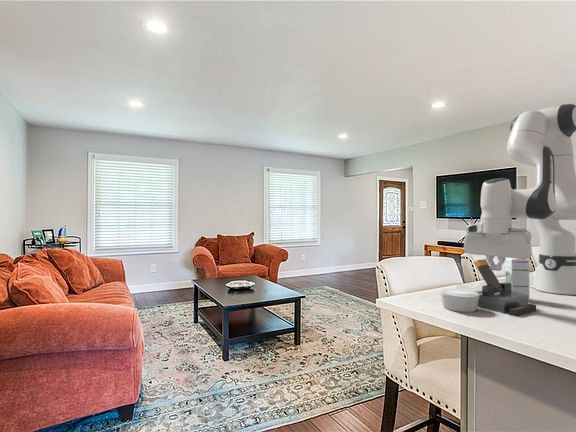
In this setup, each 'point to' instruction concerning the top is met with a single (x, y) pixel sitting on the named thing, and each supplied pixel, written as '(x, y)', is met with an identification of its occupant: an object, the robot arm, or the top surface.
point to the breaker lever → (488, 275)
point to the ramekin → (460, 300)
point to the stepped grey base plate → (500, 298)
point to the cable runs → (522, 310)
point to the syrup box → (518, 275)
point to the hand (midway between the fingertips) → (495, 270)
